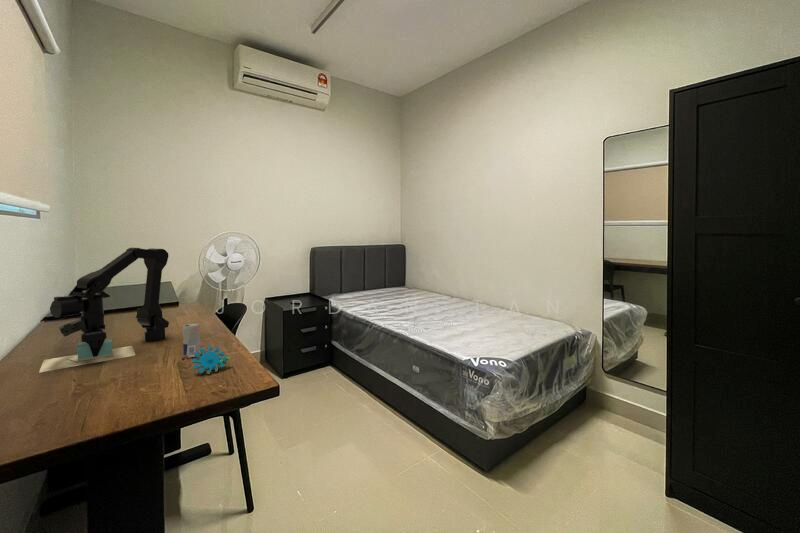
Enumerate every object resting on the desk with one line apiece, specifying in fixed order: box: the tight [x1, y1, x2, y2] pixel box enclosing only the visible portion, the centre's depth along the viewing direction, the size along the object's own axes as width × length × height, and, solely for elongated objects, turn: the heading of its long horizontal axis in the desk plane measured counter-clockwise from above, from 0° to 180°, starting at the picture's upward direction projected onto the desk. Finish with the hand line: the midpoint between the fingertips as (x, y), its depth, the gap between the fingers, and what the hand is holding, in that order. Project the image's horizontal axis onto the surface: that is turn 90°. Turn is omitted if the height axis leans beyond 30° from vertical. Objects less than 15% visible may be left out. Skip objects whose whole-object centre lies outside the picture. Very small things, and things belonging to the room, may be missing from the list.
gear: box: [191, 345, 231, 375], centre depth 112 cm, size 11×6×10 cm
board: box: [38, 345, 136, 373], centre depth 118 cm, size 24×14×1 cm, turn 133°
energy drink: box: [182, 322, 201, 359], centre depth 124 cm, size 5×5×12 cm
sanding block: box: [76, 338, 113, 361], centre depth 118 cm, size 9×5×5 cm, turn 133°
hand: (95, 354), depth 118 cm, fingers closed on sanding block, 5 cm apart
